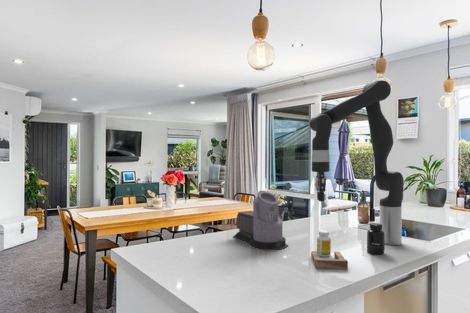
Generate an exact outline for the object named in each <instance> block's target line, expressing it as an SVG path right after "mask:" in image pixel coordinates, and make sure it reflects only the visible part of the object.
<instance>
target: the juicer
mask: <svg viewBox="0 0 470 313" xmlns="http://www.w3.org/2000/svg"><path fill="white" fill-rule="evenodd" d="M252 202H253V203H252V204H253V205H252V208H253V210H245V211H238V212H237V215H236V229H238V231H237V233H235V234H234V235H233V236H232V238H234V239H236V240H238V239H239V241H241V240H242V241H241V242H244V241H245V242H244V243H246V242H247V244H249V243H250V244H249V245H251V246H252V247H251V246H250V247H251V248H253V247H254V248H253V249H256V248H258V249H257V250H262V249H263V250H262V251H264V250H277V251H282V249H283V250H285V248H286V249H288V248H289V245H288V244H287V243H286V241H287V240H286V237H284V236H283V220H282V218H281V217H280V216H279V199H278V198H277V197H276V195H275V194H273V193H271V192H269V191H266V190H259V191H258V192H257V194H256V197H255V198H253V201H252ZM287 247H288V248H287Z"/></svg>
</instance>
